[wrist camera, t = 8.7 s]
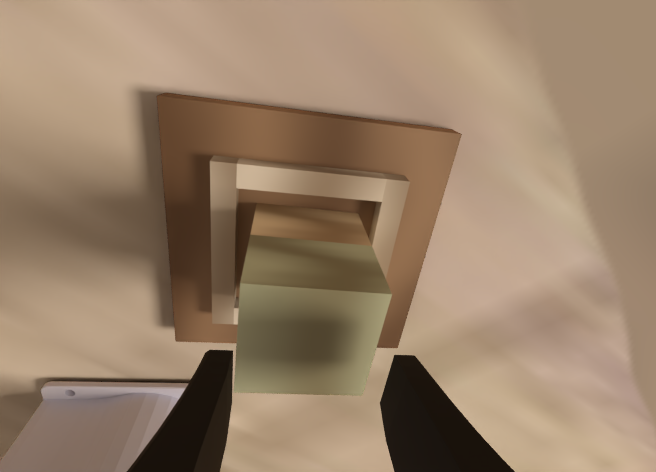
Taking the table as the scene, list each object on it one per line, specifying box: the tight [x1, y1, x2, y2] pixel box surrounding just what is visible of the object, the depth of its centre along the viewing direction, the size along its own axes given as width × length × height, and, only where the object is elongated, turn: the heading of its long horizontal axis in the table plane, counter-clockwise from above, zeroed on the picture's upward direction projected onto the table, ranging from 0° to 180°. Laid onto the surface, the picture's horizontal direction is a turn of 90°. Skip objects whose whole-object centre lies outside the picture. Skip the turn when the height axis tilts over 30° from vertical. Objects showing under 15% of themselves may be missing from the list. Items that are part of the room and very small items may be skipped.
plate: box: [157, 93, 462, 348], centre depth 17 cm, size 12×12×2 cm
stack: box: [234, 203, 392, 396], centre depth 14 cm, size 4×4×6 cm
